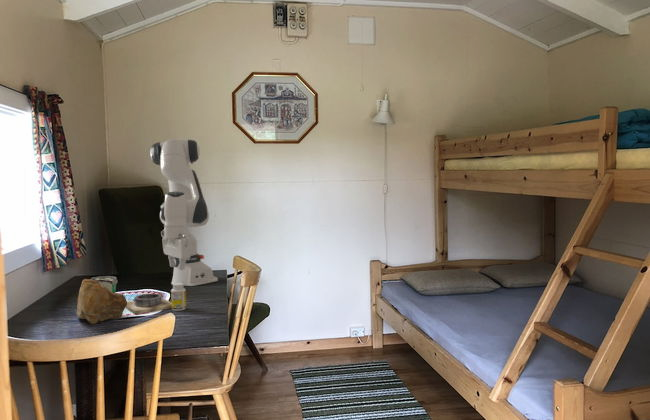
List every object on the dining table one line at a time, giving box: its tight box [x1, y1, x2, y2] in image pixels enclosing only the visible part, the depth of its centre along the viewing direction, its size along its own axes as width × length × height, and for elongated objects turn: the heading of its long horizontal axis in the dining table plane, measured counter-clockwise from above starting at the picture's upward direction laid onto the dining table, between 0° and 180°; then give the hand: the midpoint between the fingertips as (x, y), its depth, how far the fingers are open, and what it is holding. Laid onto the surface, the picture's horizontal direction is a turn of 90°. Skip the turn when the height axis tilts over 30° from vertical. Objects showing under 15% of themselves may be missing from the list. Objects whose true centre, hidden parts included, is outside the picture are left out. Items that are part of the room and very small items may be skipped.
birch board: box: [125, 297, 172, 315], centre depth 205 cm, size 16×16×1 cm
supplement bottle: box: [170, 283, 187, 312], centre depth 200 cm, size 6×6×10 cm
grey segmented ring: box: [133, 293, 163, 307], centre depth 205 cm, size 10×10×3 cm
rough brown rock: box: [76, 278, 128, 325], centre depth 188 cm, size 23×17×15 cm
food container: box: [90, 275, 118, 293], centre depth 216 cm, size 12×6×10 cm, turn 71°
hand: (177, 268), depth 199 cm, fingers open, 8 cm apart
